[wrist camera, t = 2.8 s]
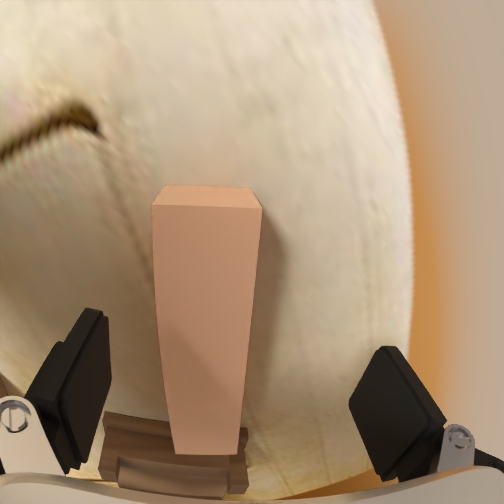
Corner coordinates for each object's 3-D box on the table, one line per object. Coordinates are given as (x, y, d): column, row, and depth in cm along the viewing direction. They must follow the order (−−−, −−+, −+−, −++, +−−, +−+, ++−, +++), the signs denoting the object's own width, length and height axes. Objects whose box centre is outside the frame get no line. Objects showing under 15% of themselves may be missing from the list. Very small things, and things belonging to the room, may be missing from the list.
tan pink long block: (166, 183, 15) (151, 204, 11) (249, 187, 15) (262, 208, 11) (177, 409, 21) (175, 453, 17) (231, 410, 21) (236, 454, 18)
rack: (105, 411, 20) (92, 464, 15) (246, 428, 22) (255, 481, 17) (121, 486, 25) (117, 522, 20) (219, 496, 27) (223, 533, 23)
